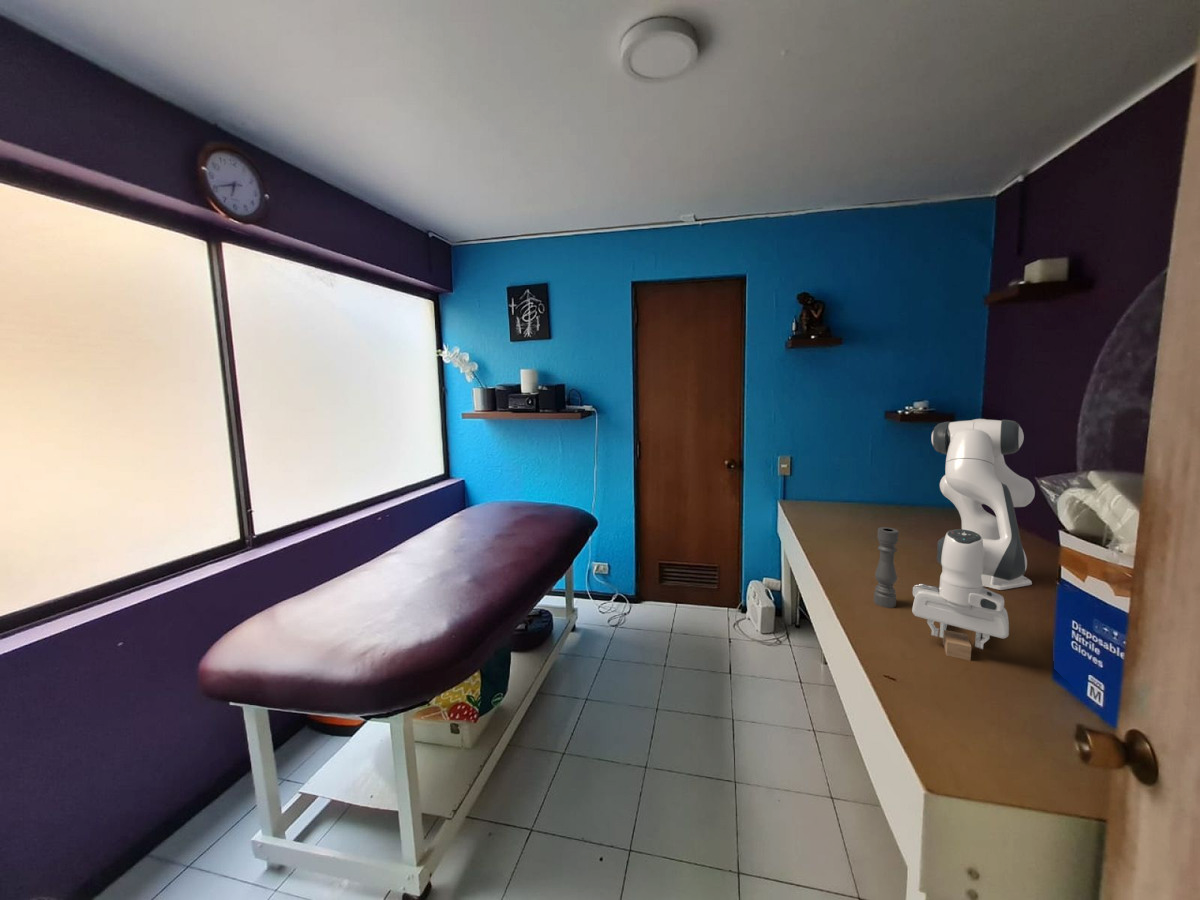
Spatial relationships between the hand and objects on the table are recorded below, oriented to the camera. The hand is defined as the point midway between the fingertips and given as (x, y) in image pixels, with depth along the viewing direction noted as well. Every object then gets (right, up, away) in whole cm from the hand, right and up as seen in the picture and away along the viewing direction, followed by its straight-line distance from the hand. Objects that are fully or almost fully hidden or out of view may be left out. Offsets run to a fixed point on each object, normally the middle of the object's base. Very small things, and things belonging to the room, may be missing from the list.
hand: (956, 641), depth 122 cm
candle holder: (-2, 0, +28) cm, 28 cm away
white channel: (+11, -1, +12) cm, 16 cm away
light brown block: (0, -3, 0) cm, 3 cm away
